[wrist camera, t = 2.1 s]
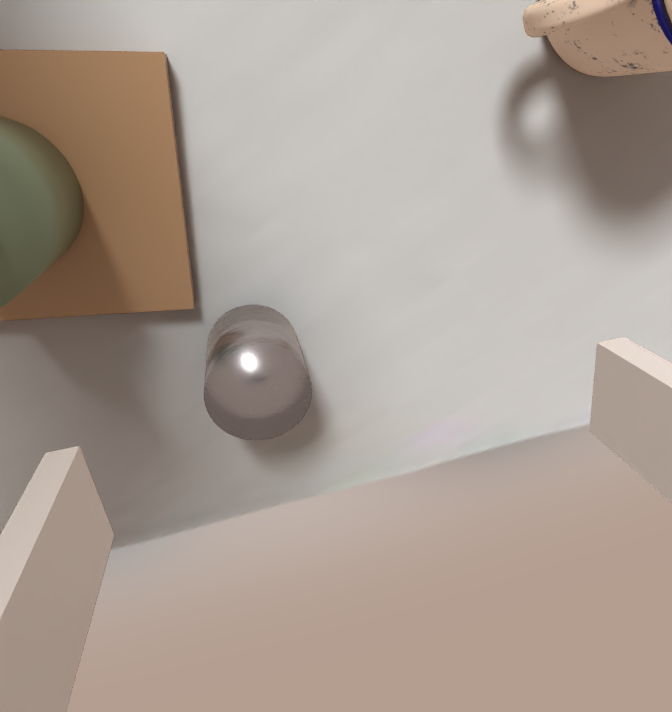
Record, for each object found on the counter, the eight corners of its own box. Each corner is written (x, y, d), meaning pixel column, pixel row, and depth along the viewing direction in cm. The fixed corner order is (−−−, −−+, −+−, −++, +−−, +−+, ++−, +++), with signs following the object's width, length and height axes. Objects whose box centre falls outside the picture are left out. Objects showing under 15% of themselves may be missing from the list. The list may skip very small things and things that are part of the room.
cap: (212, 390, 32) (209, 445, 27) (203, 307, 30) (198, 349, 25) (298, 382, 33) (312, 434, 28) (295, 301, 31) (310, 341, 26)
